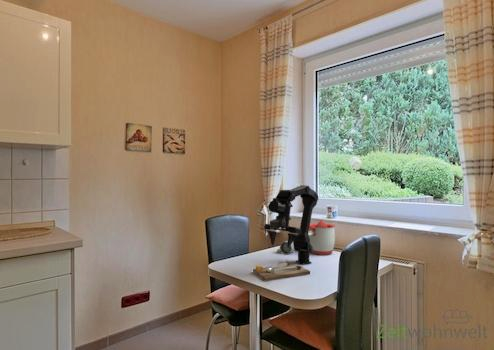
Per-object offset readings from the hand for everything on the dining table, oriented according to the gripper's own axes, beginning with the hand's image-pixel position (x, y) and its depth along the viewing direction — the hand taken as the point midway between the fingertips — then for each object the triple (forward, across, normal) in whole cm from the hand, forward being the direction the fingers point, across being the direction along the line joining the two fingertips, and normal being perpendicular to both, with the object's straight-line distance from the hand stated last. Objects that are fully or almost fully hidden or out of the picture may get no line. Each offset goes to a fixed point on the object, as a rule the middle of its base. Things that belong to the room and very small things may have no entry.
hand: (280, 246), depth 150 cm
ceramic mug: (+5, -20, +36) cm, 42 cm away
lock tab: (+12, -8, -4) cm, 15 cm away
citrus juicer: (+2, -3, +49) cm, 49 cm away
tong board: (+12, 0, +3) cm, 13 cm away
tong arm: (+11, -2, +3) cm, 11 cm away
